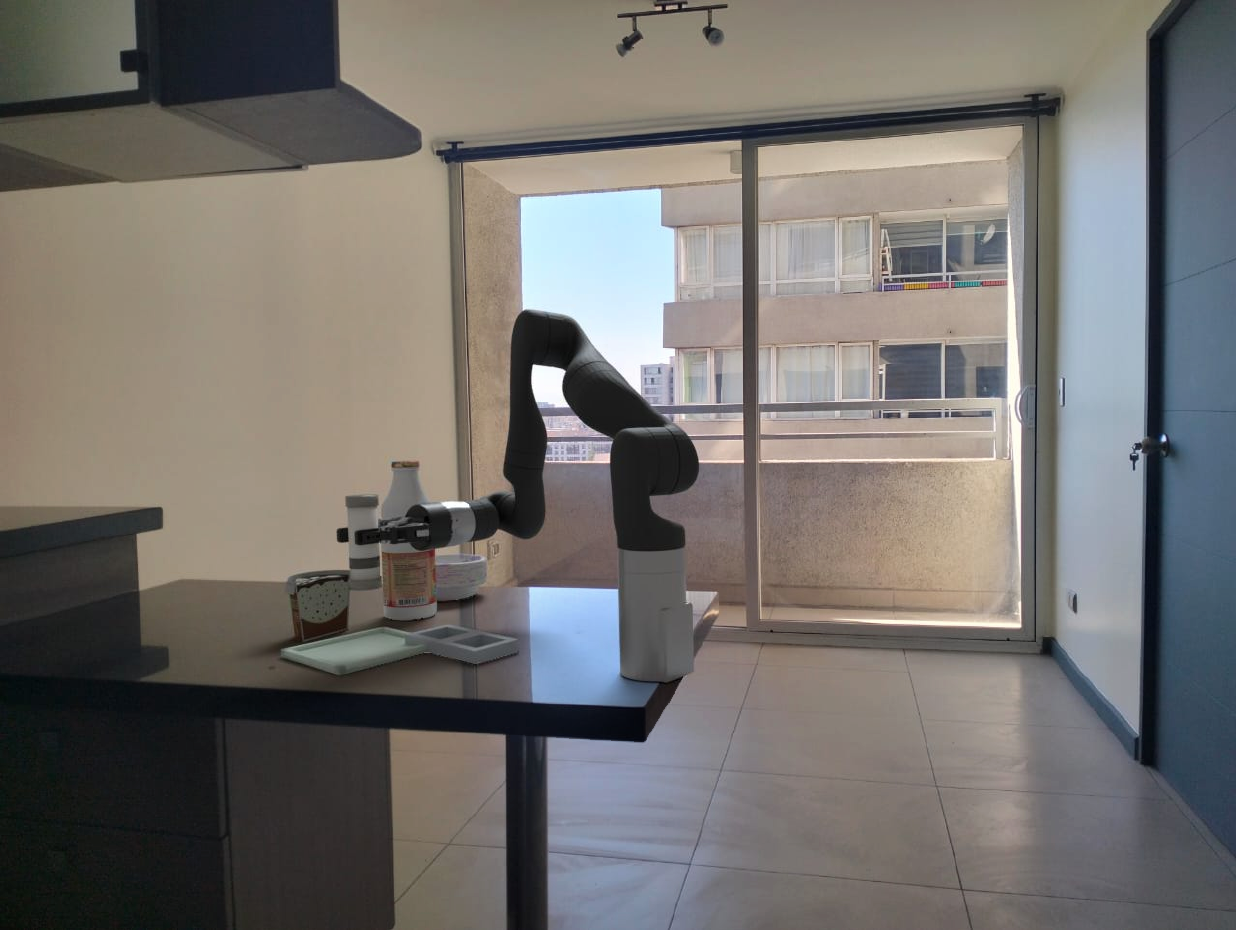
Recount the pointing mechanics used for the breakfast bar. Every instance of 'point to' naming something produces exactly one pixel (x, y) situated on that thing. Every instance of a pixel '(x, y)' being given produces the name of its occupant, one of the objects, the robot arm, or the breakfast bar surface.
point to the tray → (354, 651)
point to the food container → (319, 603)
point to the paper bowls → (459, 575)
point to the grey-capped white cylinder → (363, 556)
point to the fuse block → (463, 643)
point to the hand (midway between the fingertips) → (347, 536)
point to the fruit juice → (407, 553)
